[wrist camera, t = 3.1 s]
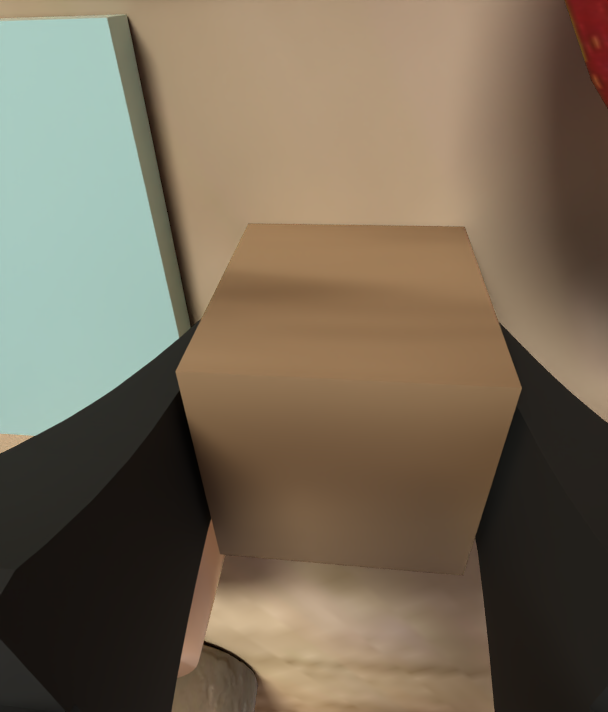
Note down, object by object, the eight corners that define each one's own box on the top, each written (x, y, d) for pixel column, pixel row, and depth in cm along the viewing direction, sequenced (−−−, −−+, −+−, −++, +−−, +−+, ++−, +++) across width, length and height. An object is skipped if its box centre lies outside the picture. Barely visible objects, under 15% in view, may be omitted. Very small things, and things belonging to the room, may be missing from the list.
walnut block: (435, 391, 13) (462, 574, 9) (265, 383, 13) (219, 554, 9) (464, 226, 10) (522, 388, 6) (248, 223, 11) (175, 371, 7)
